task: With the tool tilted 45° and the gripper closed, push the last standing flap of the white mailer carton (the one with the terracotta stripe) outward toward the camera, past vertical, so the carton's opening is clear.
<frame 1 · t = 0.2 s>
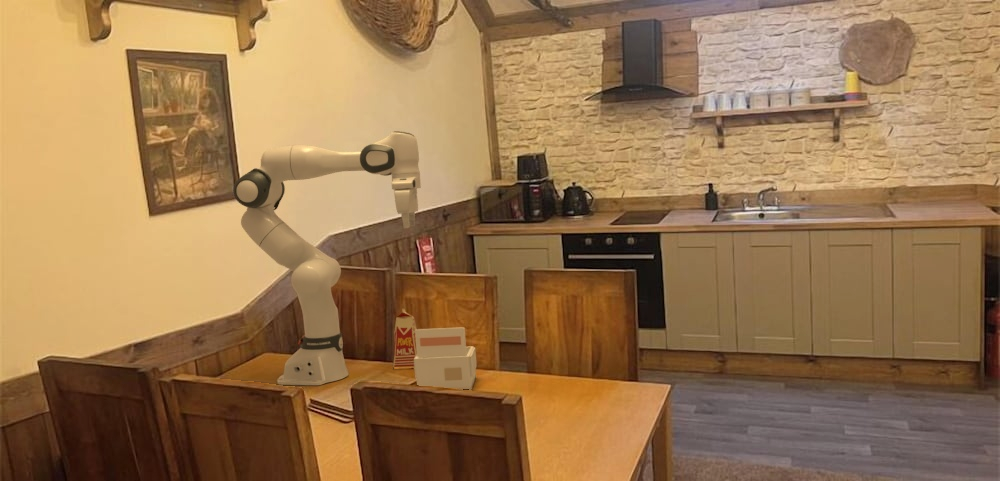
hand: (409, 227, 229), 47 cm above the table, tool pointing down, fingers open, 8 cm apart
flap: (440, 342, 213), point 15 cm above the table, hinge at 88.0°
milk carton: (408, 366, 245), on the table
carton: (447, 384, 220), on the table
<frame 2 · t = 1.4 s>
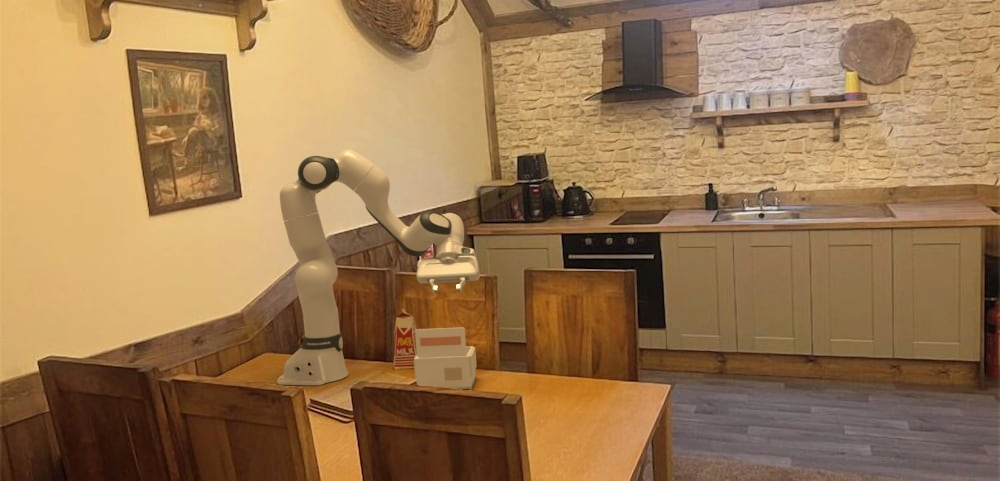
hand: (447, 291, 229), 27 cm above the table, tool tilted 45°, fingers open, 6 cm apart
nothing on the table moved.
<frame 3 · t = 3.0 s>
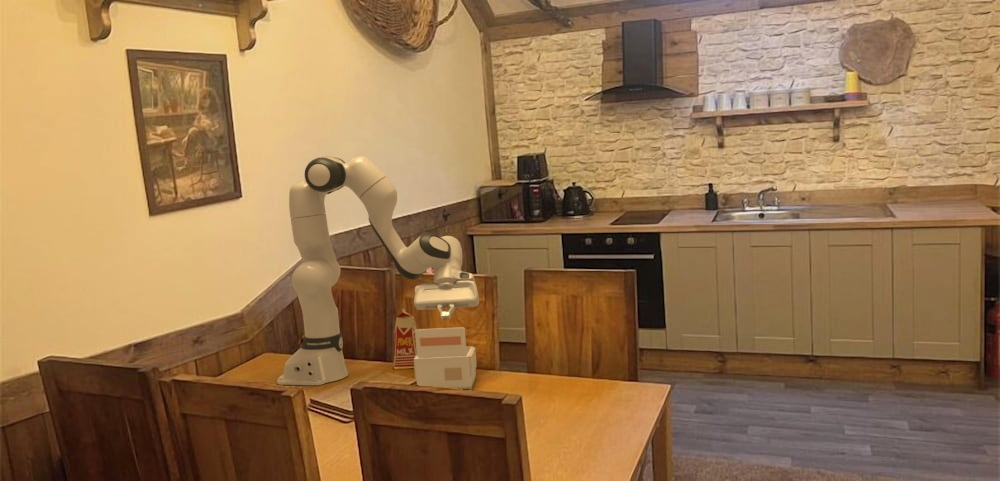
hand: (445, 318, 222), 20 cm above the table, tool tilted 45°, fingers closed
nothing on the table moved.
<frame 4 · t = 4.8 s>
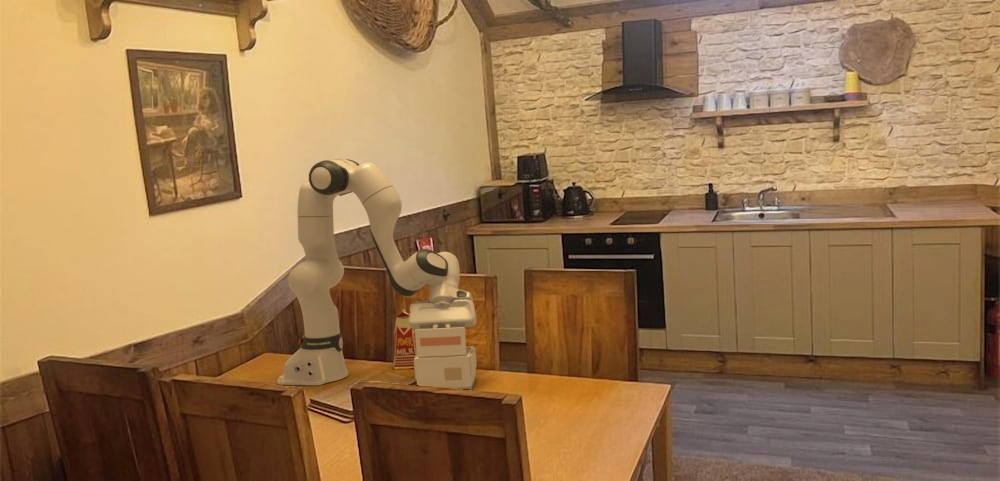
hand: (441, 338, 214), 15 cm above the table, tool tilted 45°, fingers closed, pressing on flap
flap: (440, 342, 213), point 15 cm above the table, hinge at 88.1°, touching gripper
everything else where it was.
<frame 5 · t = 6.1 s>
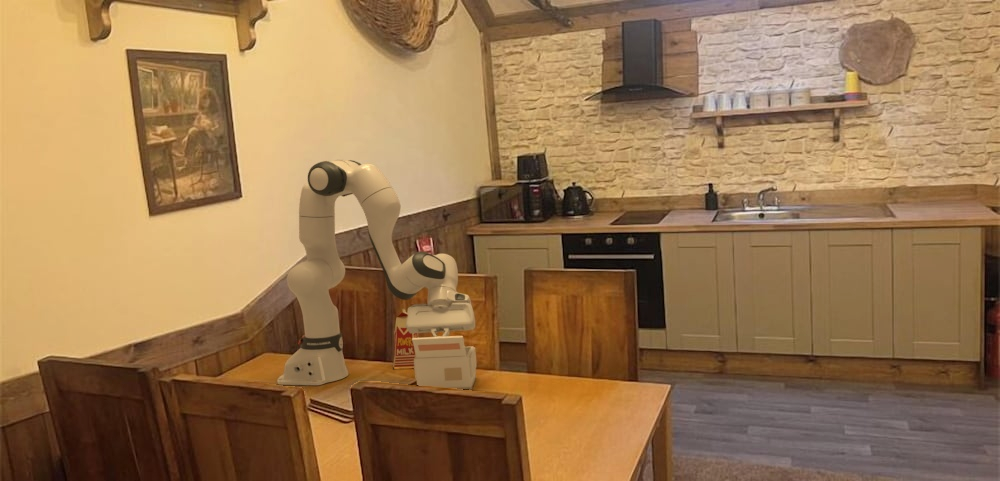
hand: (439, 343, 210), 15 cm above the table, tool tilted 45°, fingers closed, pressing on flap
flap: (439, 347, 210), point 14 cm above the table, hinge at 124.8°, touching gripper
everything else where it was.
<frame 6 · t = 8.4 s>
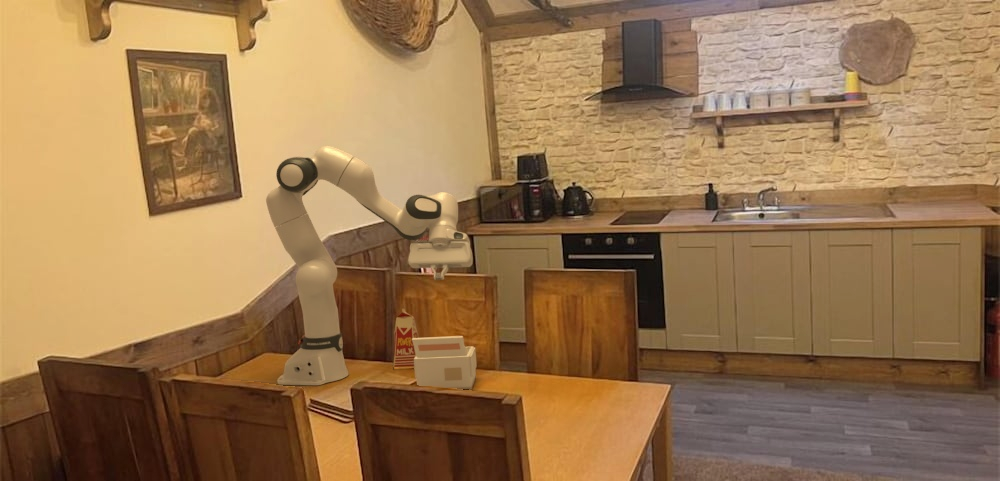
hand: (438, 279, 226), 31 cm above the table, tool tilted 35°, fingers closed
flap: (439, 347, 210), point 14 cm above the table, hinge at 125.1°
everything else where it was.
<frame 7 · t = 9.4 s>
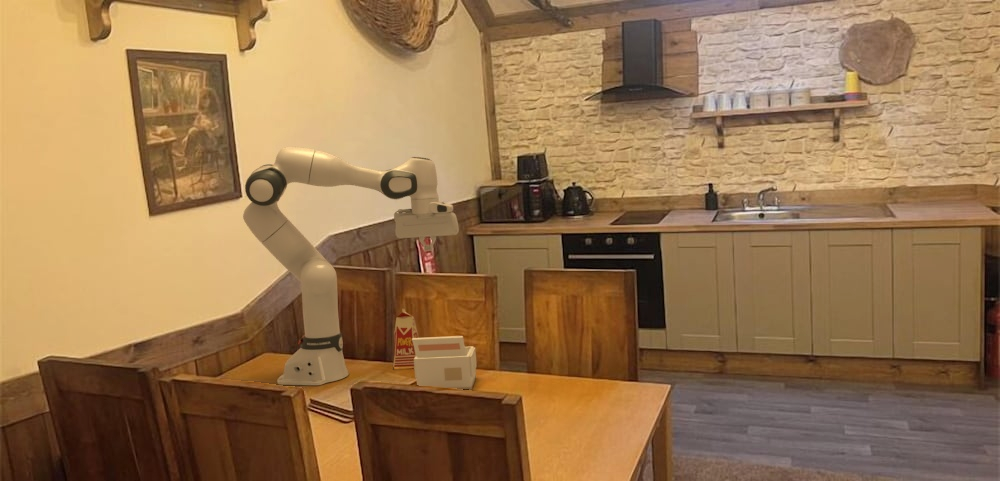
hand: (428, 250, 234), 39 cm above the table, tool pointing down, fingers closed
nothing on the table moved.
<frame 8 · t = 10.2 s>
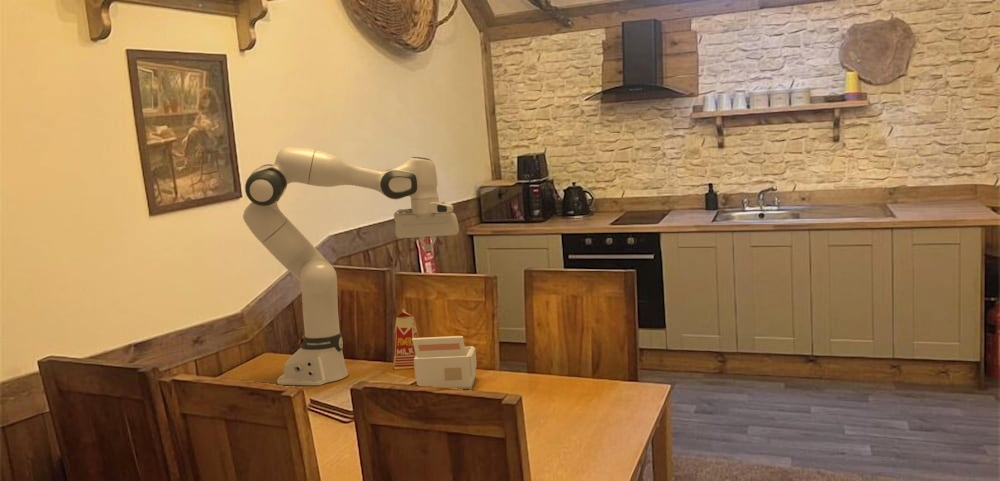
hand: (428, 250, 234), 39 cm above the table, tool pointing down, fingers closed
nothing on the table moved.
at the end: flap at +125° (first picture: +88°); milk carton moved 0.2 cm from its start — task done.
